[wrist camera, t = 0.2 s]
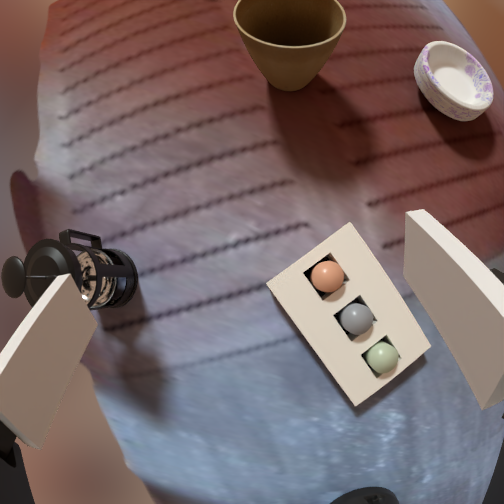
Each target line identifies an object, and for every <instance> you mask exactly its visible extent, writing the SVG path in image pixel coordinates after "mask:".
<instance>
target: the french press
mask: <svg viewBox="0 0 504 504" xmlns="http://www.w3.org/2000/svg"><path fill="white" fill-rule="evenodd" d="M70 237H73V238H78V239H83V240H88V241H91V245H92V247H89V246H84V245H81V244H76V243H71V239H70ZM59 239H60V242H59V241H57V240H54V239H44V240H41V241H39V242H37V243H36V244H35V245H34V246H33V247H32V248H31V249H30V251H29V252H28V254H27V256H26V258H25V261H24V264H23V262H22V261H21V260H20V259H19V258H18V257H16V256H12V257H10V258H8V259H7V260H6V262H5V264H4V265H3V269H2V277H1V278H2V285H3V288H4V290H5V292H6V293H7V294H8V296H10V297H12V298H18V297H19V296H21V294H22V293H23V292H24V293H25V295H26V298H27V300H28V302H29V303H30V305H31V306H32V308H33V307H34V305H35V304H36V303H37V302H38V300H39V299H40V298H41V296H42V295H43V294H44V292H45V291H46V290H47V289H48V287H49V286H50V285H51V284H52V282H53V281H54V280H55V279H56V277H57V276H60V275H65V274H71V276H72V278H73V280H74V282H75V284H76V286H77V288H78V289H79V291H80V293H81V295H82V297H83V299H84V301H85V303H86V305H87V306H88V308H89V310H96V309H102V308H108V307H110V308H116V307H120V306H123V305H124V304H126V303H127V302H128V301H129V300H130V299H131V298H132V296H133V295H134V293H135V290H136V287H137V279H138V277H137V271H136V267H135V265H134V263H133V261H132V260H131V258H130V257H129V256H128V255H127V254H126V253H124V252H122V251H121V250H117V249H102V244H101V239H100V237H99V236H96V235H91V234H87V233H83V232H79V231H75V230H71V229H67V230H65V231H62V232H60V233H59ZM72 250H78V251H82V252H81V253H80V254H79V255H78V256H76V255H75V253H74V252H73V251H72ZM109 257H115V258H118V259H120V260H121V261H122V263H123V265H124V266H123V265H114V264H113V262H112V260H111V259H110V258H109ZM117 277H126V286H125V290H124V292H123V294H122V296H121V297H119V298H118V299H115V300H110V298H111V297H112V295H113V294H114V291H115V289H116V284H117Z"/></svg>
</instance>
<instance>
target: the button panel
mask: <svg viewBox="0 0 504 504" xmlns="http://www.w3.org/2000/svg"><path fill="white" fill-rule="evenodd" d="M326 255H327V257H328V258H329V260H330V261H333V262H335V263H337V264H338V265H340V267H341V268H342V270H343V273H344V280H343V283H342V285H341V286H340V287H339V288H338V289H337V290H336V291H333V292H327V293H326V294H325V295H323V296H322V297H320V296H319V295H318V293H317V292H316V291H315V289H314V288H313V286H312V285H311V284H310V282H309V281H308V279H307V278H306V277H305V275H304V274H303V272H305V271H306V270H307V269H309V268H310V267H311V266H313V265H314V264H315V263H317V262H318V261H319V260H321V259H322V258H323V257H325V256H326ZM266 284H267V285H268V287H269V288H270V290H271V291H272V292H273V294H274V295H275V297H276V298H277V299H278V301H279V302H280V303H281V305H282V306H283V308H284V309H285V310H286V312H287V313H288V315H289V316H290V317H291V319H292V320H293V321H294V323H295V324H296V326H297V327H298V328H299V330H300V331H301V333H302V334H303V335H304V337H305V338H306V339H307V341H308V342H309V344H310V345H311V346H312V348H313V349H314V350H315V352H316V353H317V355H318V356H319V357H320V359H321V360H322V361H323V363H324V364H325V366H326V367H327V368H328V370H329V371H330V372H331V374H332V375H333V377H334V378H335V379H336V381H337V382H338V383H339V385H340V386H341V388H342V389H343V390H344V392H345V393H346V394H347V396H348V397H349V398H350V400H351V401H352V403H353V404H354V405H355V406H357V405H358V404H360V403H361V402H362V401H364V400H365V399H367V398H368V397H369V396H371V395H372V394H373V393H375V392H376V391H377V390H379V389H380V388H381V387H383V386H384V385H385V384H387V383H388V382H389V381H390V380H392V379H393V378H394V377H395V376H397V375H398V374H399V373H400V372H402V371H403V370H404V369H405V368H406V367H408V366H409V365H410V364H411V363H412V362H414V361H415V360H416V359H417V358H418V357H419V356H421V355H422V354H423V353H424V352H425V351H426V350H427V349H428V348H430V347H431V345H430V344H429V342H428V340H427V338H426V337H425V335H424V333H423V332H422V330H421V328H420V326H419V325H418V323H417V321H416V320H415V318H414V317H413V315H412V313H411V312H410V310H409V308H408V307H407V305H406V304H405V302H404V300H403V299H402V297H401V296H400V294H399V293H398V291H397V289H396V288H395V286H394V285H393V283H392V282H391V280H390V279H389V277H388V276H387V274H386V273H385V271H384V270H383V268H382V267H381V265H380V264H379V262H378V261H377V259H376V258H375V256H374V255H373V253H372V252H371V251H370V249H369V248H368V246H367V245H366V243H365V242H364V241H363V239H362V238H361V236H360V235H359V233H358V232H357V231H356V229H355V228H354V227H353V225H352V224H351V222H349V223H347V224H346V225H345V226H343V227H342V228H341V229H339V230H338V231H337V232H335V233H334V234H333V235H331V236H330V237H329V238H327V239H326V240H325V241H323V242H322V243H320V244H319V245H318V246H316V247H315V248H314V249H312V250H311V251H310V252H308V253H307V254H306V255H304V256H303V257H302V258H300V259H299V260H297V261H296V262H295V263H293V264H292V265H291V266H289V267H288V268H286V269H285V270H284V271H282V272H281V273H280V274H278V275H277V276H275V277H274V278H273V279H271V280H270V281H268V282H267V283H266ZM355 298H357V300H358V301H359V303H360V304H361V305H364V306H367V307H368V308H369V309H370V310H371V312H372V315H373V323H372V326H371V327H370V329H369V330H368V331H367V332H365V333H364V334H361V335H354V334H352V333H349V334H348V335H346V333H345V332H344V330H343V329H342V328H341V326H340V325H339V323H338V322H337V320H336V319H335V318H334V316H333V315H334V314H335V313H337V312H338V311H339V310H341V309H342V308H343V307H345V306H346V305H347V304H349V303H350V302H351V301H352V300H354V299H355ZM382 338H383V339H384V340H385V342H386V343H387V344H389V345H391V346H393V347H394V348H395V349H396V350H397V352H398V362H397V365H396V366H395V368H394V369H393V370H391V371H390V372H387V373H378V372H376V371H375V370H374V369H373V368H372V369H371V370H370V368H369V367H368V365H367V364H366V362H365V361H364V359H363V358H362V356H361V354H362V353H364V352H365V351H366V350H368V349H369V348H370V347H371V346H373V345H374V344H375V343H377V342H378V341H379V340H380V339H382Z"/></svg>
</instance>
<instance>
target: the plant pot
mask: <svg viewBox="0 0 504 504" xmlns="http://www.w3.org/2000/svg"><path fill="white" fill-rule="evenodd" d="M233 16H234V21H235V23H236V26H237V28H238V31H239V33H240V35H241V38H242V40H243V42H244V44H245V46H246V48H247V50H248V52H249V54H250V56H251V57H252V59H253V61H254V62H255V64H256V65H257V67H258V68H259V70H260V71H261V73H262V74H263V75H264V76H265V78H266V79H267V80H268V81H269V82H270V83H271V84H272V85H273V86H274V87H276V88H277V89H280V90H283V91H296V90H299V89H302V88H303V87H305V86H306V85H307V84H308V83H309V82H310V81H311V80H312V79H313V78H314V77H315V76H316V75H317V73H318V72H319V71H320V70H321V68H322V67H323V66H324V64H325V63H326V61H327V60H328V58H329V57H330V55H331V53H332V52H333V50H334V48H335V46H336V45H337V43H338V41H339V39H340V36H341V34H342V32H343V30H344V27H345V24H346V15H345V11H344V9H343V8H342V6H341V5H340V3H339V2H338V1H337V0H239V1H238V2H237V4H236V6H235V8H234V12H233Z"/></svg>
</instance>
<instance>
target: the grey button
mask: <svg viewBox="0 0 504 504" xmlns="http://www.w3.org/2000/svg"><path fill="white" fill-rule="evenodd" d="M338 321H339V323H340V325H341V326H342V327H343V328H344V329H346V330H347V331H349V332H350V333H352V334H354V335H361V334H364V333H365V332H367V331H368V330H369V329H370V327H371V326H372V323H373V315H372V312H371V310H370V309H369V308H368V307H367V306H364V305H361V304H358V303H355V302H350V303H349V304H347V305H346V306H345V307H343V308H342V309H341V310H340V311H339V313H338Z"/></svg>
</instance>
